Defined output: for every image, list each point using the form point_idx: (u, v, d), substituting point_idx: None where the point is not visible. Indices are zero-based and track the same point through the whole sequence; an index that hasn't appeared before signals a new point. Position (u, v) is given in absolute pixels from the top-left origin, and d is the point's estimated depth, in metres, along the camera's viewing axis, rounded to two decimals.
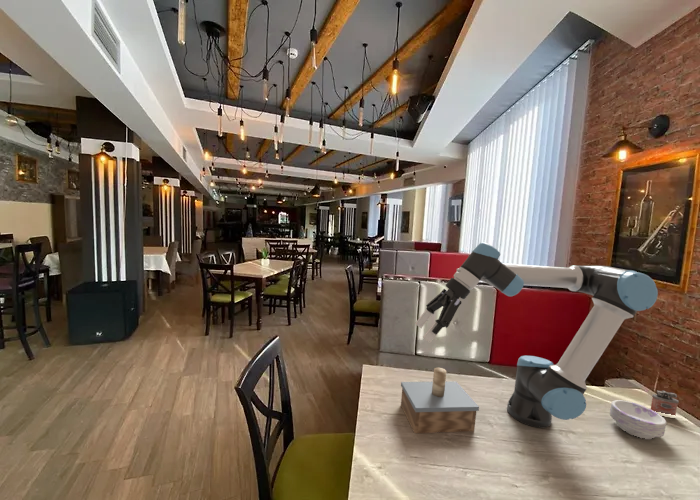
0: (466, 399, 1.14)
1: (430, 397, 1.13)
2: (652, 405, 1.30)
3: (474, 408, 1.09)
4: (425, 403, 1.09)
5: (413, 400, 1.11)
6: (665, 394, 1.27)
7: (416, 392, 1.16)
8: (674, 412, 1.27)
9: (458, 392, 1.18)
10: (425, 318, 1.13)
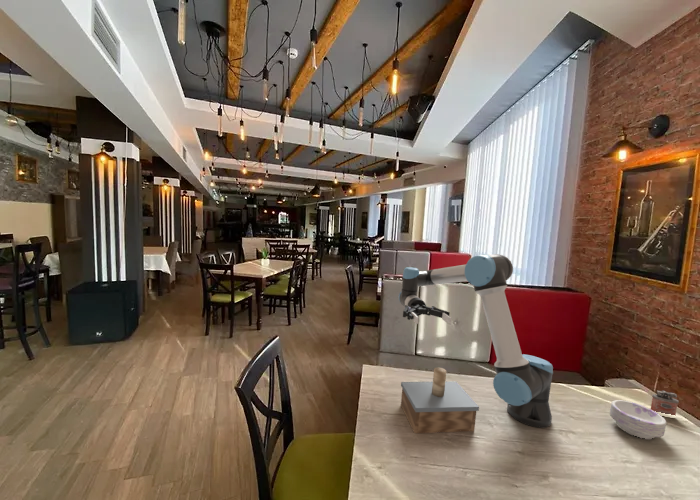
0: (466, 399, 1.14)
1: (430, 397, 1.13)
2: (652, 405, 1.30)
3: (474, 408, 1.09)
4: (425, 403, 1.09)
5: (413, 400, 1.11)
6: (665, 394, 1.27)
7: (416, 392, 1.16)
8: (674, 412, 1.27)
9: (458, 392, 1.18)
10: (445, 317, 1.28)
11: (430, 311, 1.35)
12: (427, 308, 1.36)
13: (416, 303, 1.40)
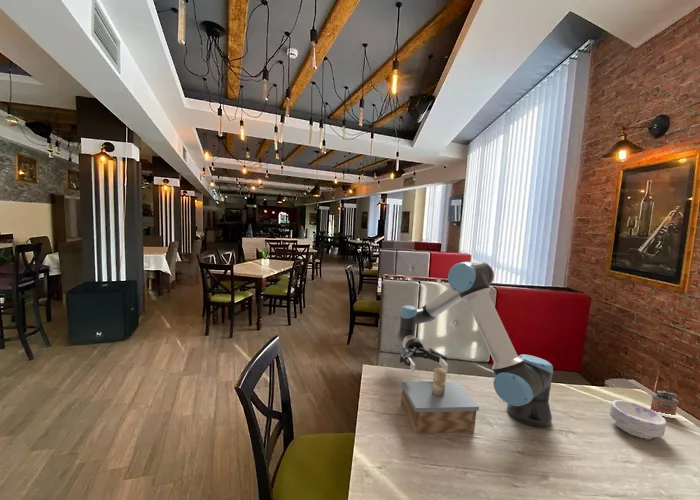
0: (466, 399, 1.14)
1: (430, 397, 1.13)
2: (652, 405, 1.30)
3: (474, 408, 1.09)
4: (425, 403, 1.09)
5: (413, 400, 1.11)
6: (665, 394, 1.27)
7: (416, 392, 1.16)
8: (674, 412, 1.27)
9: (458, 392, 1.18)
10: (442, 363, 1.28)
11: (427, 354, 1.35)
12: None
13: (413, 345, 1.40)
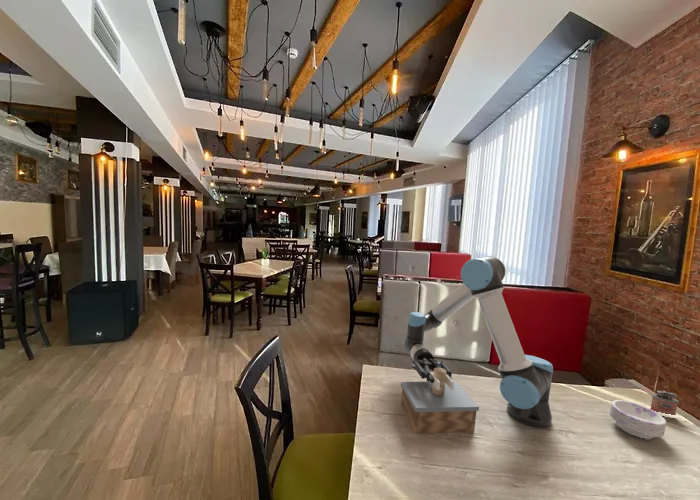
0: (466, 399, 1.14)
1: (430, 397, 1.13)
2: (652, 405, 1.30)
3: (474, 408, 1.09)
4: (425, 403, 1.09)
5: (413, 400, 1.11)
6: (665, 394, 1.27)
7: (416, 392, 1.16)
8: (674, 412, 1.27)
9: (458, 392, 1.18)
10: (446, 379, 1.14)
11: (435, 367, 1.23)
12: None
13: (423, 356, 1.29)
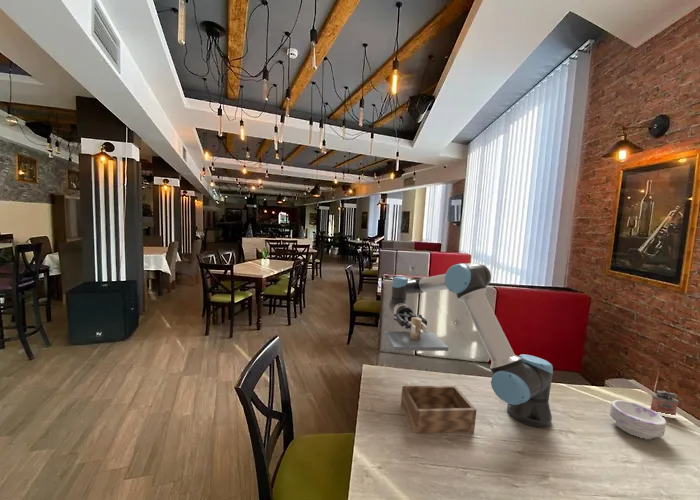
0: (438, 342, 1.33)
1: (407, 340, 1.33)
2: (652, 405, 1.30)
3: (444, 348, 1.29)
4: (403, 344, 1.29)
5: (393, 342, 1.30)
6: (665, 394, 1.27)
7: (396, 338, 1.35)
8: (674, 412, 1.27)
9: (432, 338, 1.37)
10: (422, 326, 1.34)
11: None
12: None
13: (404, 311, 1.49)
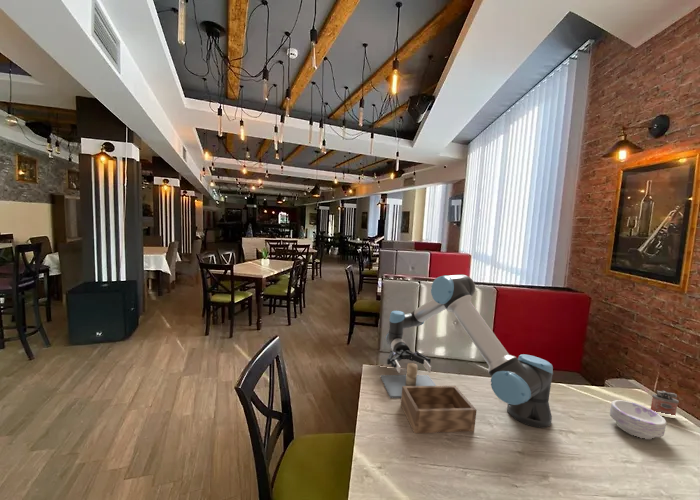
0: None
1: None
2: (652, 405, 1.30)
3: None
4: (398, 392, 1.31)
5: (389, 390, 1.32)
6: (665, 394, 1.27)
7: (392, 383, 1.37)
8: (674, 412, 1.27)
9: (428, 383, 1.40)
10: (426, 365, 1.38)
11: (413, 357, 1.45)
12: None
13: (400, 348, 1.50)
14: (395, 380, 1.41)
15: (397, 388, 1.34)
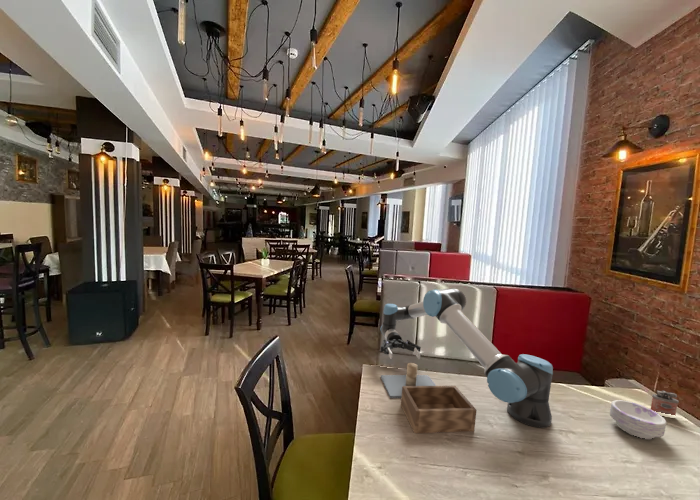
0: None
1: None
2: (652, 405, 1.30)
3: None
4: (398, 392, 1.31)
5: (389, 390, 1.32)
6: (665, 394, 1.27)
7: (392, 383, 1.37)
8: (674, 412, 1.27)
9: (428, 383, 1.40)
10: (416, 352, 1.51)
11: (404, 345, 1.58)
12: None
13: (393, 337, 1.63)
14: (395, 380, 1.41)
15: (397, 388, 1.34)
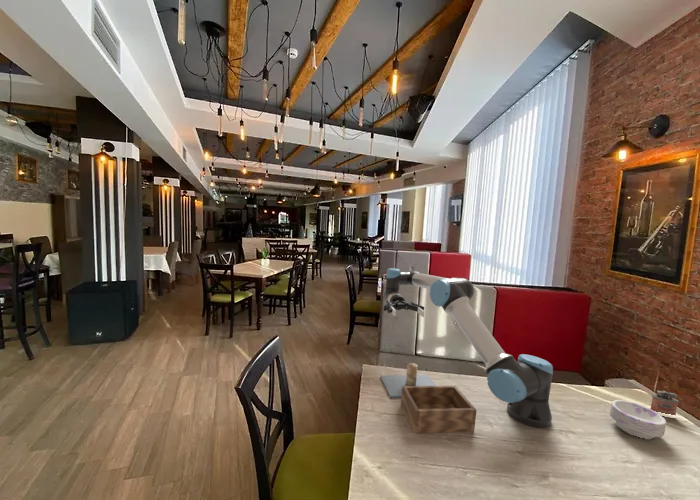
0: None
1: None
2: (652, 405, 1.30)
3: None
4: (399, 392, 1.31)
5: (389, 390, 1.32)
6: (665, 394, 1.27)
7: (392, 384, 1.37)
8: (674, 412, 1.27)
9: (428, 383, 1.40)
10: (419, 311, 1.49)
11: (408, 306, 1.56)
12: None
13: (396, 299, 1.61)
14: (395, 380, 1.41)
15: (397, 388, 1.34)
